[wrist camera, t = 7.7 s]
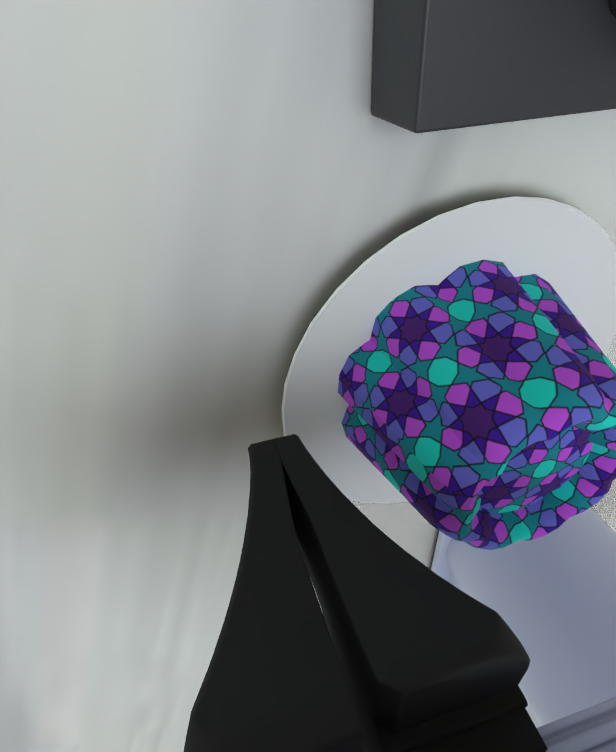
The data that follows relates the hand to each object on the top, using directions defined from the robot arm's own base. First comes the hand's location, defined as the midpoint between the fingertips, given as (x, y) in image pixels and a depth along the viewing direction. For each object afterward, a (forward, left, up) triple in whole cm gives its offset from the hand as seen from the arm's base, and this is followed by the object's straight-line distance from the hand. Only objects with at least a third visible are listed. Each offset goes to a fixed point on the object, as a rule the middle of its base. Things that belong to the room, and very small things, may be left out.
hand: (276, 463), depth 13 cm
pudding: (0, -6, -2) cm, 7 cm away
